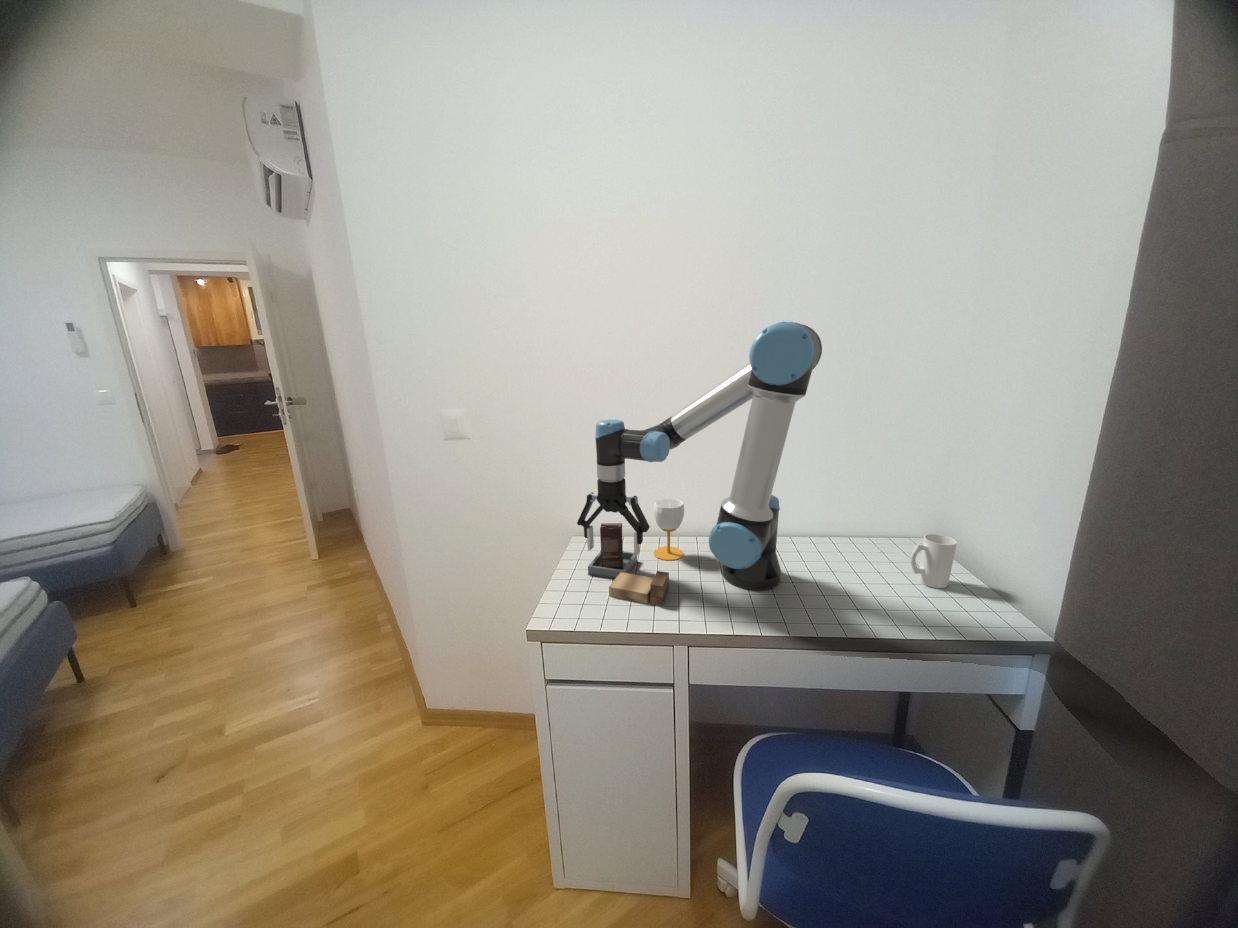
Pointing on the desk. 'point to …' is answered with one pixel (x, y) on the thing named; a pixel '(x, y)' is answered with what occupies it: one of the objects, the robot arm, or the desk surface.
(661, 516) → the cup
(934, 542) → the mug
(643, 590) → the light brown wooden block
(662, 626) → the desk surface
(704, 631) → the desk surface
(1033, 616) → the desk surface
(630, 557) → the tray
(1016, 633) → the desk surface
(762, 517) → the robot arm
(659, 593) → the brown rectangular block
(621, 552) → the box
